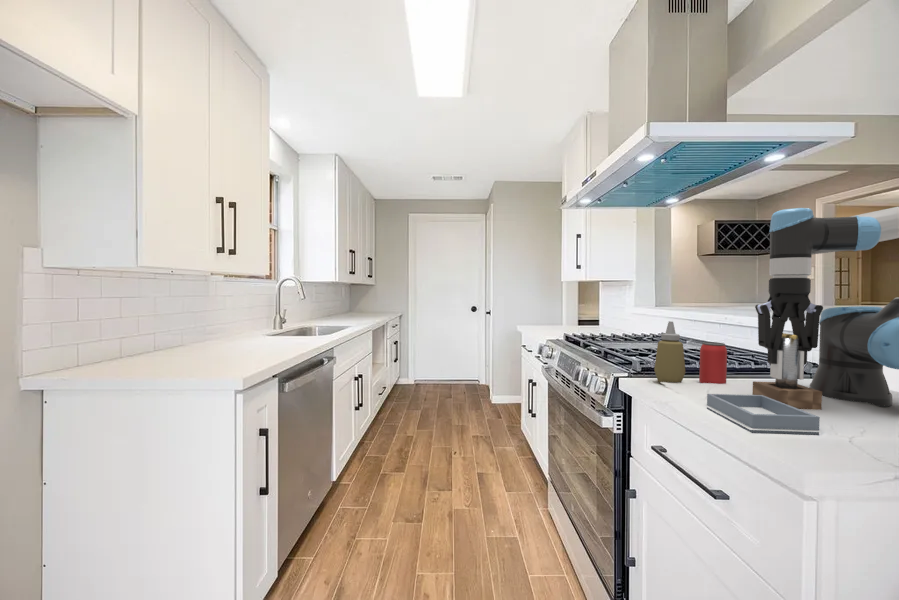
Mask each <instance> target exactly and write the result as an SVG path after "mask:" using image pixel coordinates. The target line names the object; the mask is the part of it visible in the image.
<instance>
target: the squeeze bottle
mask: <svg viewBox="0 0 899 600" xmlns="http://www.w3.org/2000/svg"><path fill="white" fill-rule="evenodd" d="M680 337H681V336H680V333H679V334H678V333H676V330H675V324H674V321H668V322H667V326H666V331H665V333H664V332H663V333H661V337H660V338H661V340H659V341H658V342H657V348H656V355H655V360H654V362H655V363H654V368H653V369H654V373H655V376H656V379H657V382H658V383H660V384H661V383H677V384H678V383H679V384H681V383H682V382H683V379H684V377H685V374H686V362H685V353H684V352H685V351H684V350H685V349H684V343H683V342H682V341H680V339H681V338H680Z"/></svg>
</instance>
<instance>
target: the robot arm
mask: <svg viewBox="0 0 899 600" xmlns="http://www.w3.org/2000/svg"><path fill="white" fill-rule="evenodd" d="M813 212H814V211H813V210H812V209H811V208H809V207H797V208H784V209H780V210H778V211H775V212H774V213H772V215H771V218H770V224H769V231H768V232H769V264H768V265H769V271H768V273H769V274H768V275H769V276H771V277H772V278H769V279H768V294H769V298H768V299H767V301H766V302H765V303H761V304H758V303H757V304H756V305H755V307H754V308H755V311H756V313H757V321H758V322H757V328H758V329H757V330H758V333H757V334H758V336H757V338H758V339H757V341H758V345H759V346H760V347H763V348H765V349H767V359H766V360H767V363H768V364H770V366H769V367H770V368H769V369H770V374H769V375H770V376H769V377H771V378H773V379H782V355H783V351H780V350H778V349H779V346H780V342H781V338H782V334H783V333H784V329H785V326H786V323H787V322H788V320H789V322H790V324H791V329H792V335H797V336H798V338H799V350H798V380H804V370H805V368H804V367H805V365H807V362H808V352H811V351H812V349H816V348H818V343H819V351H818V357H819V358H818V367H817V369H816V371H815V373H814V375H813V377H812V380H811V382H810V383H809V386H808V387H809V388H812V389H815V390H818V391H822V397H826V398H830V399H834V400H840V401H841V400H842V401H847V402H854V403H864V404H869V405H871V406H872V405H873V406H876V407H879V408H881V407H884V408H885V407H891V406H893V394H892V392H890V388H889V384H888V381H887V380H886V377H885V375H884V367H886V368H890V369H894V370H899V297H894V298H893V299H892V300H891V301H890V302H889V303H888V304H886V305H885V306H884V307H880V306H868V305H867V306H866V305H865V306H860V305H859V306H856V305H855V306H837V307H828V308H825V309H824V307H823V305H821V304H814V303H812V302H811V300H810V298H809V296H810V293H811V291H812V290H811V289H812V288H811V287H812V286H811V285H812V284H811V283H812V281H811V280H812V279H810V278H809V276H811V275H812V256H813V255H819V254H828V253H829V254H830V253H835V252H846V251H847V252H850V251H852V252H857V251H868V250H871V249H873V248H874V247H875V246H877V244H878V243H879V242H884V241H891V240H895V239H896V240H897V239H899V206H895V207H890V208H886V209H885V208H884V209H880V210H875V211H870V212H865V213H861V214H855V215H851V216H838V217H837V216H835V217H815V216H814V213H813ZM771 312H772V314H771ZM805 312H806V313H805ZM771 315H772V316H771Z"/></svg>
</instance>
